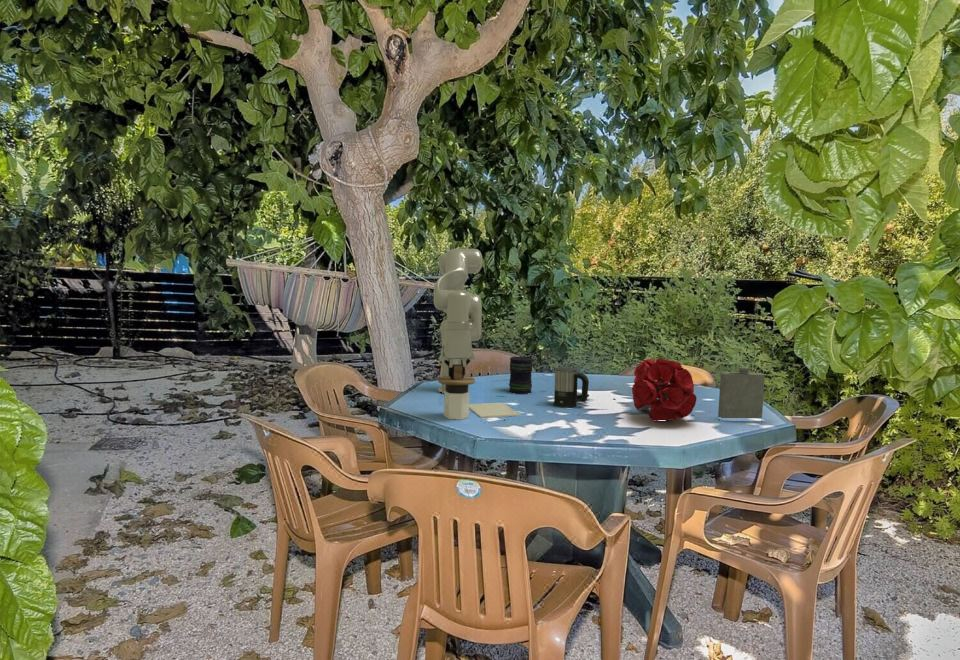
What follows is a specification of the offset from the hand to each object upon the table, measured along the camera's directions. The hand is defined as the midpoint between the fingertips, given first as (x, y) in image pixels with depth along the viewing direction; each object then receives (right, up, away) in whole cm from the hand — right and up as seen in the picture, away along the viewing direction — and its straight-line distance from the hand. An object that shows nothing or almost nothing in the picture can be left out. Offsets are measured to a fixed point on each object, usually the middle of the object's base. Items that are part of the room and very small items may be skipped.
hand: (456, 377), depth 219 cm
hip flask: (+104, -17, +6) cm, 105 cm away
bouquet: (+74, -16, +7) cm, 76 cm away
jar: (0, -15, +2) cm, 15 cm away
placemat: (+13, -14, +13) cm, 23 cm away
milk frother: (+45, -13, +28) cm, 55 cm away
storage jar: (+26, -10, +49) cm, 56 cm away
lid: (0, -2, 0) cm, 2 cm away
